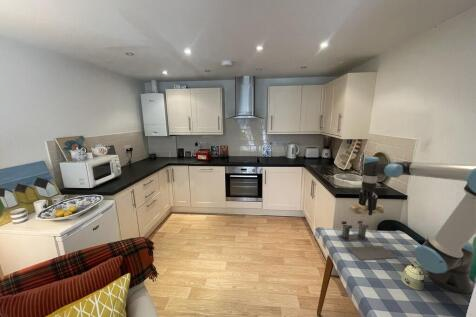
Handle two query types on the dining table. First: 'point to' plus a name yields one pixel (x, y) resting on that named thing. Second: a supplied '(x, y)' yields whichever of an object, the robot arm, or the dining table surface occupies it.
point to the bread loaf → (364, 209)
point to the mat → (372, 253)
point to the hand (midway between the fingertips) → (365, 217)
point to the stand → (351, 237)
